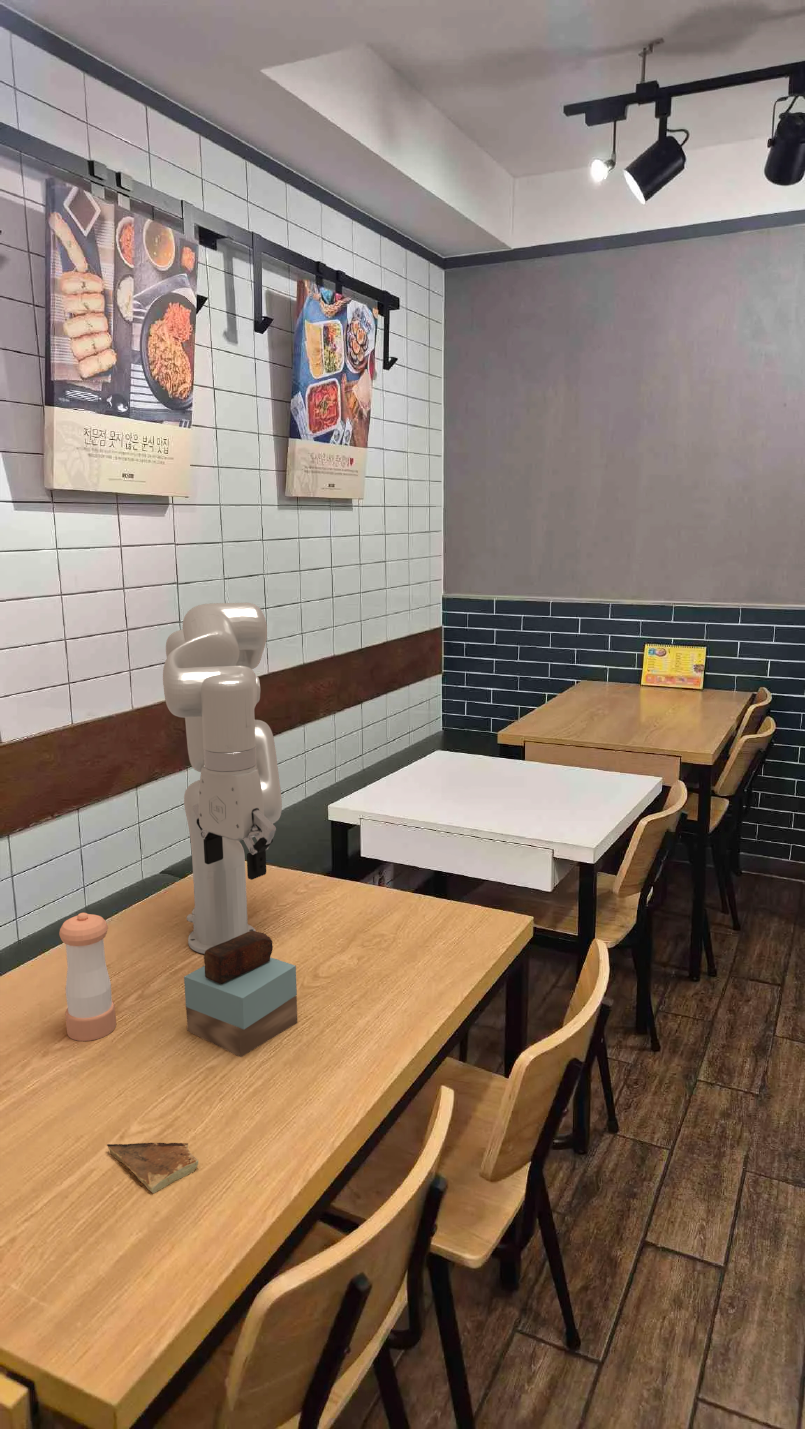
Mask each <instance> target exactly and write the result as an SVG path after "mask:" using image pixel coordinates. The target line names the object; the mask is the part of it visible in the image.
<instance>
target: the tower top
mask: <svg viewBox="0 0 805 1429" xmlns="http://www.w3.org/2000/svg"><path fill="white" fill-rule="evenodd" d="M183 981H184V999H185V1000H184V1001H185V1008H186V1007H188V1008H190V1009H193V1010H195V1011H198V1012H200V1013H203V1014H206V1015H208V1016H211V1017H213V1018H216V1019H218V1020H221V1021H224V1022H226V1023H229V1024H231V1025H234V1026H236V1027H239V1028H241V1029H246V1028H247V1027H249V1026H250V1025H252V1024H253V1023H255V1022H256V1021H258V1020H259V1019H261V1018H263V1017H264V1016H266V1015H267V1014H269V1013H270V1012H272V1011H273V1010H275V1009H276V1008H278V1007H279V1006H281V1005H282V1004H284V1003H285V1002H287V1001H288V1000H290V999H291V998H293V997H294V996H297V994H298V992H297V989H298V988H297V965H294V964H292V963H289V962H287V961H286V962H285V961H282V960H281V959H277V958H273V957H271V956H270V961H268V962H266V963H264V964H262V965H260V966H258V967H256V968H254V969H252V970H251V971H248V972H246V973H244V974H242V975H240V976H238V977H236V978H233V979H231V980H229V981H227V982H225V983H223V984H219V983H217V982H215V981H212V980H210V979H208V978H206V977H205V965H203V966H200V967H199V968H198V969H195V970H194V971H192V972H190V973H188V974H186V975H184V977H183Z"/></svg>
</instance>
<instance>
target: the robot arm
mask: <svg viewBox="0 0 805 1429" xmlns="http://www.w3.org/2000/svg"><path fill="white" fill-rule="evenodd" d="M182 620H183V621H182V629H180V630H176V631H174V632H172V633H170V634H169V636H168V637H167V639H166V643H165V654H166V655H165V656H166V659H165V662H164V664H163V668H162V686H163V693H164V694H163V695H164V701H165V704H166V707H167V709H168V710H169V712H170V713H171V714H172V715H173V716H175V717H178V718H184V721H185V732H186V743H187V754H188V760H189V763H190V765H191V767H192V768H193V769H194V771H196V772H199V773H200V778H199V779H198V780H195V781H194V782H192V783H191V784H190V785H188V787H187V788H186V789H185V791H184V796H183V805H184V811H185V817H186V820H187V825H188V831H189V837H190V848H191V858H192V859H191V861H192V863H191V864H192V876H193V877H192V879H193V880H192V881H193V895H194V897H193V898H194V908H192V911H191V913H189V914H187V916H186V921H188V922H189V923H193V924H192V925H193V930H192V931H191V932H190V933H189V934H188V938H187V940H188V941H187V944H188V947H189V948H190V949H192V951H193V952H197V953H199V954H203V955H204V954H205V951H206V950H207V949H209V948H211V947H213V946H216V945H218V944H221V943H223V942H226V941H228V940H231V939H232V938H235V937H238V936H240V935H242V934H244V933H247V932H249V931H256V932H257V930H256V929H255V927H253V926H252V925H250V924H248V906H247V905H248V902H247V901H248V900H247V879H248V880H251V881H252V880H255V879H257V878H261V877H262V876H265V875H266V874H267V854H266V852H267V850H269V848H270V846H271V845H272V843H273V842H274V836H275V834H276V831H277V828H276V825H274V824H275V823H277V822H278V821H279V820H280V817H281V815H282V810H283V802H282V801H283V799H282V790H281V784H280V775H279V766H278V760H277V759H278V758H277V751H276V750H277V749H276V744H275V739H274V738H275V737H274V735H273V734H274V733H273V731H272V729H271V727H270V726H269V724H268V723H267V722H265V721H263V720H260V719H255V708H256V705H257V704H258V703H259V702H260V699H261V684H260V678H259V676H258V675H256V673H255V671H254V670H255V669H256V668H257V667H258V666H259V664H260V662H261V660H262V657H263V656H262V655H263V653H264V650H265V647H266V643H267V638H268V625H267V620H266V617H265V615H264V612H263V610H262V608H260V607H259V606H258V605H256V604H254V603H253V602H216V603H213V602H212V603H203V604H198V605H196V606H193V607H192V608H190V609H189V610H188V611H187V613H185V615H184V617H183V619H182ZM254 837H255V839H256V842H255V841H254V840H253V838H254ZM242 840H243V842H244V844H245V846H246V848H247V849H248V851H249V852H248V853H246V857H245V850H244V847H243V845H242V843H241V841H242ZM245 858H246V859H245ZM246 871H247V872H246ZM246 873H247V876H246Z"/></svg>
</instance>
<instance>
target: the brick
mask: <svg viewBox="0 0 805 1429" xmlns="http://www.w3.org/2000/svg"><path fill="white" fill-rule="evenodd" d="M273 947H274V946H273V939H272V938H271V937H270V936H268V935H267V933H264V932H261V931H257V930H256V931H249V932H247V933H244V934H242V935H240V936H238V937H235V938H232V939H231V940H228V941H226V942H223V943H221V944H218V945H216V946H213V947H211V948H209V949H207V950H206V951H205V954H203V959H204V960H203V963H204V964H203V966H205V977H206V978H208V979H210V980H212V981H215V982H217V983H219V984H223V983H225V982H227V981H229V980H231V979H233V978H236V977H238V976H240V975H242V974H244V973H246V972H248V971H251V970H252V969H254V968H256V967H258V966H260V965H262V964H264V963H266V962H268V961H270V957H271V955H272V954H273Z"/></svg>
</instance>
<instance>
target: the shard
mask: <svg viewBox="0 0 805 1429" xmlns="http://www.w3.org/2000/svg"><path fill="white" fill-rule="evenodd" d="M106 1147H107V1148H108V1150H109V1154H110V1155H111V1156H113V1158H115V1159H116V1160H117V1161H119V1162H120V1163H122V1164H123V1165H124V1166H125V1167H126V1168H127V1169H128V1170H130V1172H132V1173H133V1174H134V1175H135V1176H136V1178H137V1179H138V1181H140V1182H141V1183H142V1184H143V1185H144V1186H145V1187H146V1189H147V1190H148V1191H150V1192H151V1193H152V1194H155V1193H157V1192H158V1191H160V1190H162V1189H164V1188H166V1187H167V1186H170V1185H171V1184H172V1183H174V1182H175V1181H178V1180H180V1179H182V1178H184V1177H186V1176H188V1175H190V1174H191V1173H193V1172H195V1171H196V1169H197V1167H198V1165H199V1159H198V1158H197V1157H196V1156H195V1155H194V1154H193V1153H192V1152H191V1151H190V1148H189V1143H187V1142H168V1143H165V1142H137V1143H128V1144H127V1143H124V1144H123V1143H119V1144H117V1143H114V1144H113V1143H112V1144H111V1143H108V1144H106Z"/></svg>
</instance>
